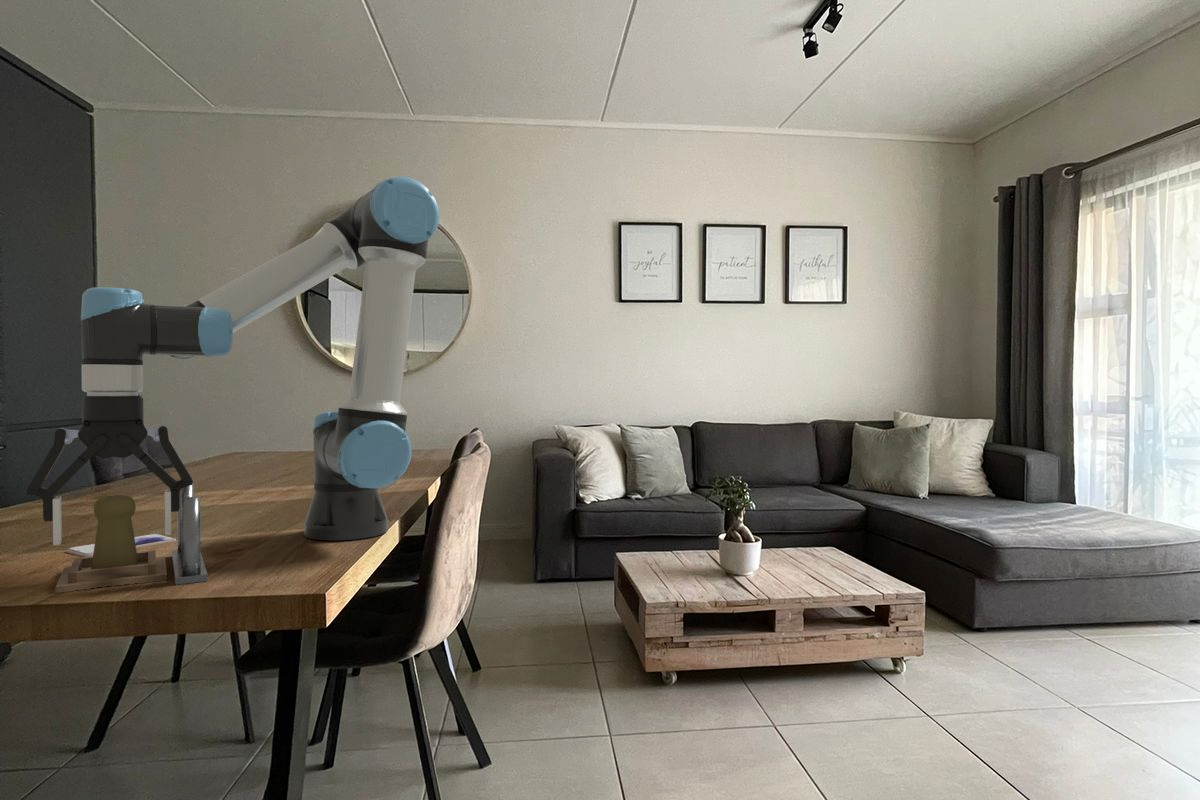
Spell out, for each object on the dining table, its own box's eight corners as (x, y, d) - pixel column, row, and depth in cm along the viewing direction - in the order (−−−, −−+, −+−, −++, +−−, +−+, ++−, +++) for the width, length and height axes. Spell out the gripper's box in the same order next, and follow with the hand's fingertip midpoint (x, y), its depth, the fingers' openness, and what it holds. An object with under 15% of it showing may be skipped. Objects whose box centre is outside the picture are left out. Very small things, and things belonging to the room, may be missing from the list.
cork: (124, 563, 113) (124, 491, 113) (148, 568, 110) (147, 494, 110) (81, 572, 107) (81, 497, 107) (105, 577, 105) (104, 500, 104)
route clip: (199, 553, 123) (198, 481, 123) (207, 581, 106) (207, 498, 106) (171, 556, 121) (171, 483, 121) (175, 584, 104) (174, 500, 104)
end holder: (165, 561, 118) (164, 547, 118) (166, 580, 106) (166, 565, 106) (64, 571, 111) (64, 557, 111) (55, 593, 100) (55, 576, 100)
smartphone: (178, 538, 133) (85, 554, 120) (177, 543, 133) (85, 559, 120) (156, 533, 137) (64, 548, 124) (156, 538, 137) (64, 553, 124)
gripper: (207, 393, 118) (208, 525, 118) (9, 394, 105) (11, 542, 105) (210, 394, 111) (211, 534, 112) (0, 395, 98) (2, 553, 99)
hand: (114, 538), depth 109 cm, fingers open, 13 cm apart
